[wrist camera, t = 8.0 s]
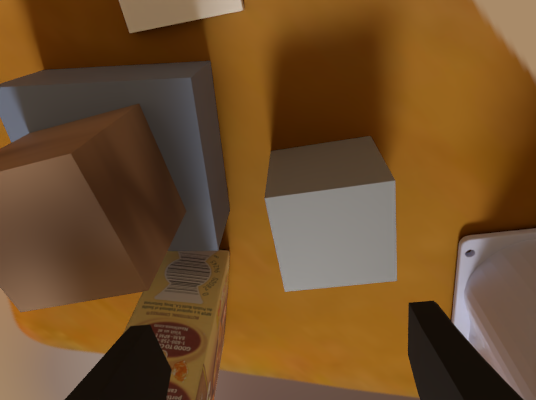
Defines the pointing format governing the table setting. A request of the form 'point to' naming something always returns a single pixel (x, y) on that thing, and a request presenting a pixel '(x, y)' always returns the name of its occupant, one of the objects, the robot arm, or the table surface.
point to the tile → (173, 11)
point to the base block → (159, 120)
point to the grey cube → (332, 214)
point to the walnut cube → (85, 211)
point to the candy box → (188, 319)
